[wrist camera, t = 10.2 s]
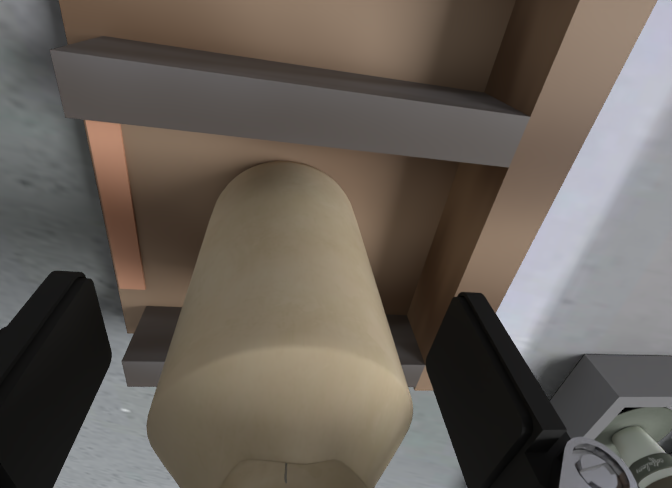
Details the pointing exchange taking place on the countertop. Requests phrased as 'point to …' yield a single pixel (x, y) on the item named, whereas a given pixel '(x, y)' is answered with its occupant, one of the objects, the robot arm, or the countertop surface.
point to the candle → (281, 346)
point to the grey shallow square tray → (611, 390)
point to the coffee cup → (641, 444)
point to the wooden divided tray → (338, 134)
